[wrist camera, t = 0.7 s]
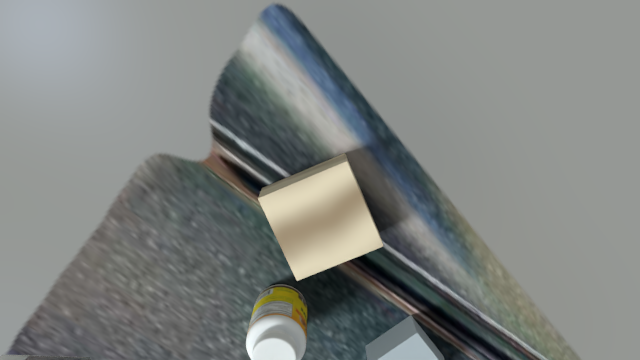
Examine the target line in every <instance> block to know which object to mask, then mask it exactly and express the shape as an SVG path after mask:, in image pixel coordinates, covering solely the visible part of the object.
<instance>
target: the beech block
mask: <svg viewBox="0 0 640 360" xmlns="http://www.w3.org/2000/svg"><path fill="white" fill-rule="evenodd" d="M258 200H259V202H260V204H261V206H262V208H263V210H264V212H265V215H266V217H267V219H268V221H269V223H270V225H271V227H272V229H273V231H274V234H275V236H276V238H277V240H278V242H279V244H280V246H281V248H282V251H283V253H284V255H285V257H286V259H287V261H288V263H289V265H290V267H291V270H292V272H293V274H294V276H295V278H296V280H297V281H299V280H301V279H304V278H306V277H309V276H311V275H314V274H316V273H318V272H321V271H323V270H326V269H328V268H331V267H333V266H336V265H338V264H341V263H343V262H346V261H348V260H351V259H353V258H356V257H358V256H361V255H363V254H366V253H368V252H370V251H373V250H375V249H378V248H380V247H383V243H382V240H381V237H380V234H379V231H378V229H377V227H376V224H375V222H374V220H373V217H372V215H371V213H370V210H369V208H368V206H367V203H366V201H365V199H364V196H363V194H362V191H361V189H360V187H359V184H358V182H357V180H356V177H355V175H354V173H353V170H352V168H351V166H350V163H349V161H348V159H347V156H346V154H345V153H344V154H342V155H339V156H337V157H335V158H332V159H330V160H327V161H325V162H323V163H320V164H318V165H316V166H313V167H311V168H308V169H306V170H304V171H301V172H299V173H297V174H294V175H292V176H290V177H287V178H285V179H282V180H280V181H278V182H275V183H273V184H271V185H268V186H266V187H264V188H262V190H261V192H260V195H259V197H258Z"/></svg>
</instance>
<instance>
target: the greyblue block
mask: <svg viewBox="0 0 640 360" xmlns="http://www.w3.org/2000/svg"><path fill="white" fill-rule="evenodd" d="M365 347H366V353H367V360H445V359H444V357H443V355H442V354H441V352H440V351H439V350H438V349H437V347H436V346H435V345H434V343H433V342H432V341H431V340H430V338H429V337H428V336H427V335H426V333H425V332H424V331H423V330H422V328H421V327H420V326H419V325H418V323H417V322H416V321H415V320H414V318H413V317H412V316H411V315H410V316H409V317H407V318H406V319H405V320H403V321H402V322H400V323H399V324H397V325H396V326H394V327H393V328H391V329H390V330H388V331H387V332H386V333H384V334H383V335H381V336H380V337H378V338H377V339H375V340H374V341H372V342H371V343H369V344H368V345H367V346H365Z"/></svg>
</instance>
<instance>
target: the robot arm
mask: <svg viewBox="0 0 640 360" xmlns="http://www.w3.org/2000/svg"><path fill="white" fill-rule="evenodd" d="M0 360H91V359H90V357H62V356H33V355H1V356H0Z"/></svg>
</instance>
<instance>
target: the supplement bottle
mask: <svg viewBox="0 0 640 360" xmlns="http://www.w3.org/2000/svg"><path fill="white" fill-rule="evenodd" d="M306 336H307V304H306V301H305V299H304V297H303V295H302V294H301V293H300V292H299V291H298V290H297V289H295V288H293V287H291V286H288V285H283V284H279V285H273V286H270V287H268V288H266V289H265V290H263V291H262V292H261V293H260V295H259V296H258V298H257V300H256V302H255V306H254V309H253V313H252V317H251V321H250V325H249V329H248V333H247V339H246V348H247V352H248V354H249V356H250V358H251V359H252V360H301V359H302V357H303V355H304V353H305V349H306Z"/></svg>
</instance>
